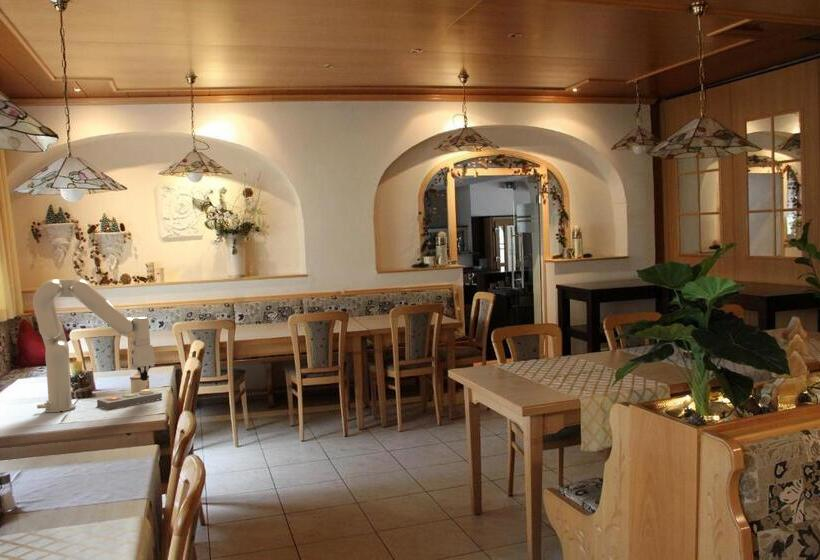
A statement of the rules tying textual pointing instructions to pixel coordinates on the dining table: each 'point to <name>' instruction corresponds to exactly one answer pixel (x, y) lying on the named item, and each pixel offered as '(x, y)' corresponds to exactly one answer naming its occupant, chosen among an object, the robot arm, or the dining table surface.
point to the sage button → (129, 395)
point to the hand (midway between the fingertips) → (144, 380)
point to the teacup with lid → (138, 383)
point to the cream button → (145, 391)
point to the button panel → (128, 400)
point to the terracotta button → (113, 398)
